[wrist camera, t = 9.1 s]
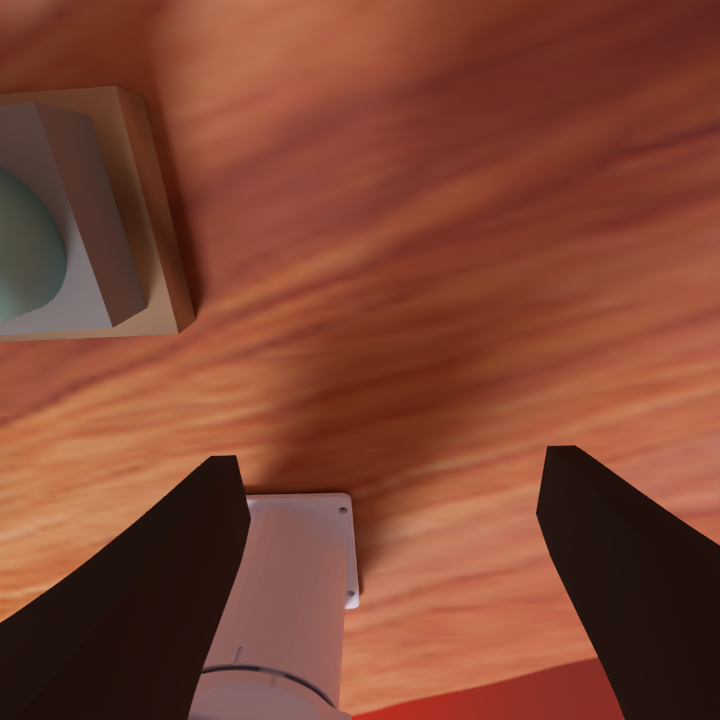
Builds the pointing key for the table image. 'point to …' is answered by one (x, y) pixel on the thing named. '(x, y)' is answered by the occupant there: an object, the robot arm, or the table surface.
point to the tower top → (72, 218)
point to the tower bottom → (129, 207)
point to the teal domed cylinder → (27, 251)
